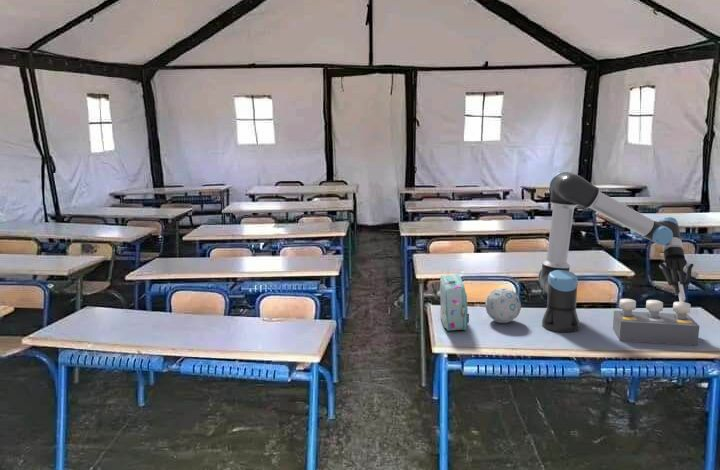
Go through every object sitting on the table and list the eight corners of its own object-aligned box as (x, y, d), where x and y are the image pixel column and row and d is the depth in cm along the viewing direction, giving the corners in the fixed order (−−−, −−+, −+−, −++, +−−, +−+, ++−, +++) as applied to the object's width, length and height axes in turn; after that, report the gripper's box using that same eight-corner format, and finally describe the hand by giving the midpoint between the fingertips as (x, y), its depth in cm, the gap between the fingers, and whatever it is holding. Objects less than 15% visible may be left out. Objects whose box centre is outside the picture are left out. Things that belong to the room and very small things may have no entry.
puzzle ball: (483, 325, 247) (484, 292, 245) (487, 314, 261) (487, 283, 259) (519, 329, 243) (520, 295, 240) (521, 317, 257) (522, 285, 254)
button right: (674, 325, 227) (676, 305, 226) (669, 320, 233) (671, 301, 231) (691, 325, 226) (692, 306, 224) (686, 320, 231) (687, 302, 230)
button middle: (646, 323, 229) (648, 303, 228) (643, 318, 235) (644, 299, 234) (663, 323, 228) (664, 304, 227) (659, 319, 234) (660, 300, 232)
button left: (620, 321, 232) (621, 302, 230) (617, 316, 237) (618, 298, 236) (636, 322, 230) (637, 303, 229) (632, 317, 236) (634, 299, 235)
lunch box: (470, 335, 237) (471, 285, 233) (445, 335, 237) (445, 285, 233) (460, 314, 263) (461, 269, 259) (438, 314, 263) (438, 269, 259)
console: (619, 340, 227) (620, 321, 226) (612, 328, 241) (613, 310, 239) (697, 345, 221) (699, 325, 219) (686, 333, 234) (687, 313, 233)
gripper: (687, 255, 243) (697, 305, 230) (654, 254, 246) (662, 303, 233) (692, 246, 237) (703, 296, 224) (658, 245, 240) (667, 295, 227)
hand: (682, 300), depth 228 cm, fingers closed
